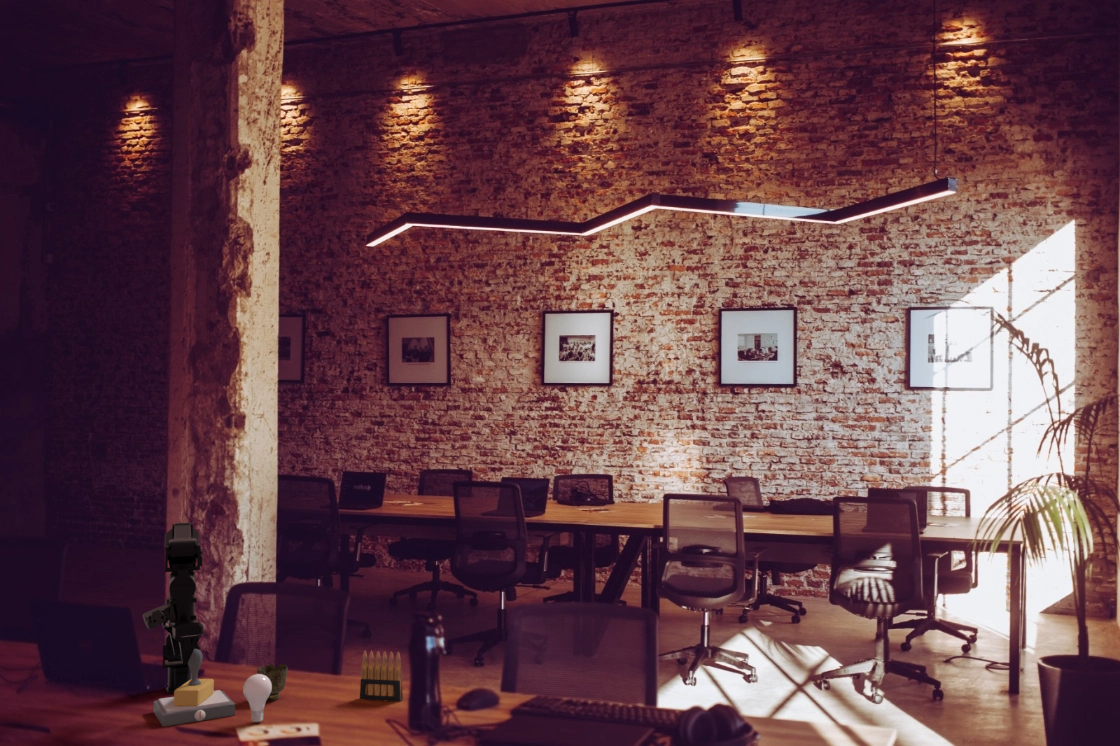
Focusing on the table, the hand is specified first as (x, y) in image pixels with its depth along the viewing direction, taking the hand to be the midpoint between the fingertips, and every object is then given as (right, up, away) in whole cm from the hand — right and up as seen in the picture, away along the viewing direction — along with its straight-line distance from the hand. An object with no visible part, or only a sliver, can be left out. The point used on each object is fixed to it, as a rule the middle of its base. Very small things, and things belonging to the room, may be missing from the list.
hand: (181, 659), depth 226 cm
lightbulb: (+20, -13, -6) cm, 25 cm away
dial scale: (+3, -13, +1) cm, 13 cm away
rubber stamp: (+3, -10, +1) cm, 10 cm away
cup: (+18, -14, +12) cm, 26 cm away
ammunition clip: (+45, -14, +12) cm, 49 cm away
